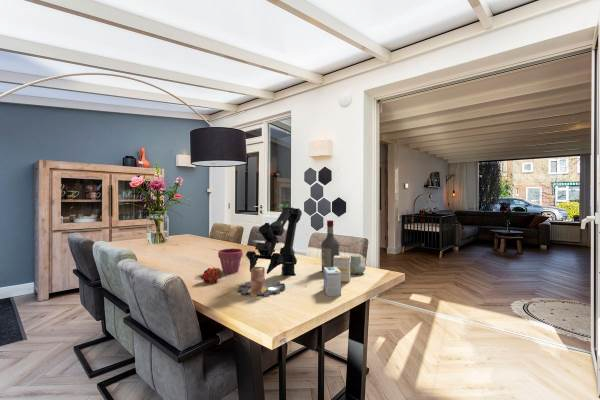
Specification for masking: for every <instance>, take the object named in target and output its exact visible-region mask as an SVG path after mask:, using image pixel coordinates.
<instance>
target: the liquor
mask: <svg viewBox="0 0 600 400" xmlns="http://www.w3.org/2000/svg"><path fill="white" fill-rule="evenodd" d="M326 226H327V227H326V228H327V229H326V230H327V231H326V233H327V234H326V238H324V240H323V241H322V242H321V271H322V272H323V273H324V267H334V262H333V257H334V256H335V255H336V256H340V242H339V241H338V240H337V239H336V237H335V235H334V220H331V219H329V220H326Z"/></svg>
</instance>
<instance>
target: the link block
mask: <svg viewBox="0 0 600 400" xmlns="http://www.w3.org/2000/svg"><path fill="white" fill-rule="evenodd" d="M265 274H266V273H265V266H255V267H254V268H252V269H251V272H250V282H251V291H262V290H263V289H264V288H265V281H266V278H265V277H266V275H265Z"/></svg>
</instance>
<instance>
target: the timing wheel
mask: <svg viewBox="0 0 600 400" xmlns="http://www.w3.org/2000/svg"><path fill="white" fill-rule="evenodd" d="M285 290H286V284H285V283H281V281H280V280H275V281H273V280H272V279H265V288H264V289H263V290H262V291H251V281H246V282H245V283H244V284H240V285H238V287H237V293H240V294H241V295H242V296H250V298H257V297H264V298H265V297H270V296H271V295H276V296H277V295H279V294H281V292H285Z"/></svg>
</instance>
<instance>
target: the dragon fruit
mask: <svg viewBox="0 0 600 400" xmlns="http://www.w3.org/2000/svg"><path fill="white" fill-rule="evenodd" d="M222 277H223V270H221V269H220V268H218V267H217V268H216V267H214V266H212V268H210V267H208V268H207V269H206V270H204V272H203V273H202V275H201V276H200V277H199V279H201V280H202V282H203V283H211V284H214V283H217V282H218V280H221V279H222Z"/></svg>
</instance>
